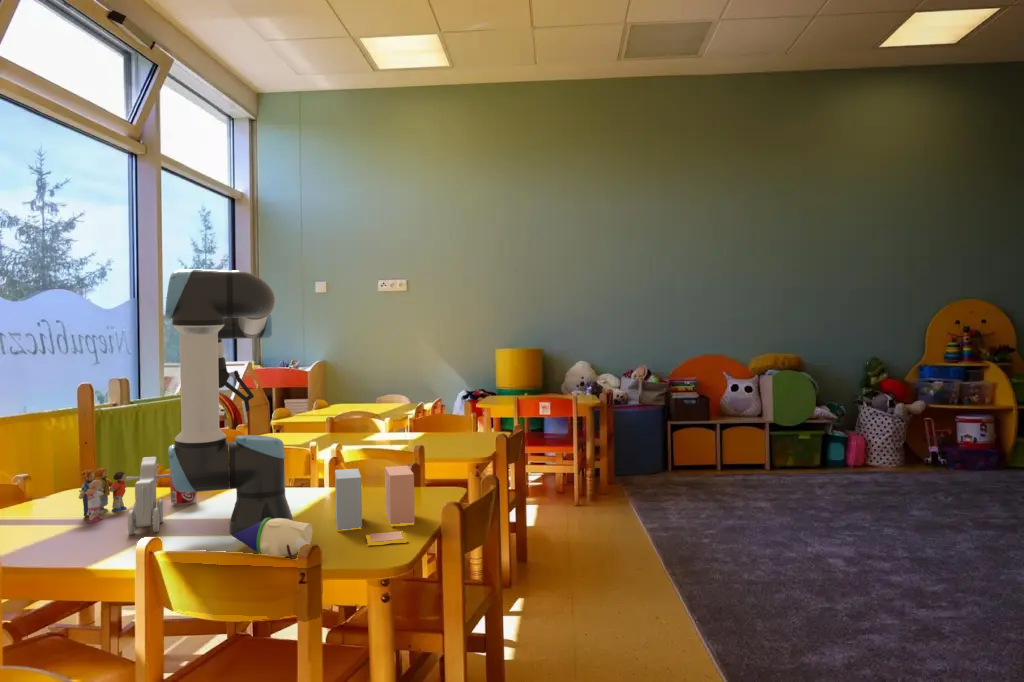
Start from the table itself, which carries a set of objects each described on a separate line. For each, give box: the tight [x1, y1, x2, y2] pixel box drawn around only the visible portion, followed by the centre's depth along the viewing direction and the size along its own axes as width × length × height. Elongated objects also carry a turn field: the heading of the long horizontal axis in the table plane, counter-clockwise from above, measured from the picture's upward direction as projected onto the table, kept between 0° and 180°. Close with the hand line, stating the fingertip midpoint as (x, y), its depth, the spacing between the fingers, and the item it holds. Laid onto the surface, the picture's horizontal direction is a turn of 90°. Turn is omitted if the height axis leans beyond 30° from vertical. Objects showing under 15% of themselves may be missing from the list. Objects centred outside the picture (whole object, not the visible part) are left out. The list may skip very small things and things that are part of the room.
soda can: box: [169, 472, 198, 507], centre depth 218 cm, size 7×7×12 cm
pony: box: [125, 456, 170, 536], centre depth 191 cm, size 20×10×17 cm, turn 21°
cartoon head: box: [231, 517, 313, 557], centre depth 160 cm, size 9×10×20 cm
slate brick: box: [334, 468, 363, 531], centre depth 190 cm, size 14×6×13 cm, turn 15°
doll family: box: [78, 467, 128, 523], centre depth 205 cm, size 21×10×13 cm, turn 3°
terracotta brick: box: [384, 465, 416, 525], centre depth 193 cm, size 14×6×13 cm, turn 15°
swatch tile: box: [369, 531, 403, 542], centre depth 173 cm, size 9×9×1 cm
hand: (223, 427), depth 226 cm, fingers open, 13 cm apart
